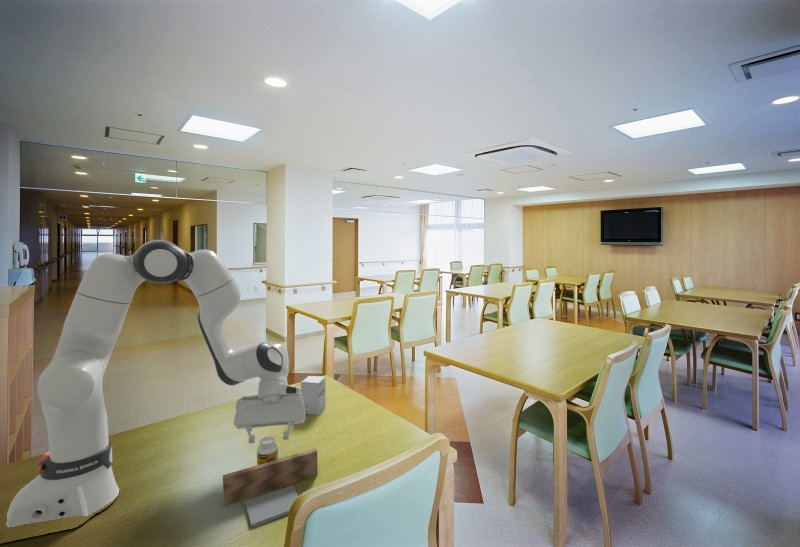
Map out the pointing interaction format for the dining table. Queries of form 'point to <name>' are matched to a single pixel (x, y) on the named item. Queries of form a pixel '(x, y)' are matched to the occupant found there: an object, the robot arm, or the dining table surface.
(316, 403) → the supplement box
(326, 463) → the dining table surface
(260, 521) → the grey mat
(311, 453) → the walnut screen
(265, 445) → the supplement bottle
